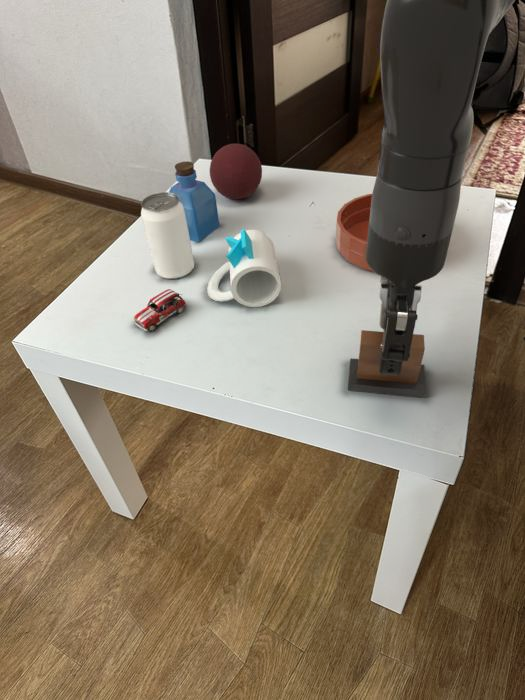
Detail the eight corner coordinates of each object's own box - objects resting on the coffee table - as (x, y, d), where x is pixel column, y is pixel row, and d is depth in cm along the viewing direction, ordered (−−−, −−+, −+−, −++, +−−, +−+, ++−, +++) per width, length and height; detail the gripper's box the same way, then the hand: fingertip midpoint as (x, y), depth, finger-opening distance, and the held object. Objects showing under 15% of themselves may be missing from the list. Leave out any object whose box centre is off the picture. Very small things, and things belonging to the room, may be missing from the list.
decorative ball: (265, 184, 101) (262, 134, 94) (261, 208, 94) (257, 156, 87) (217, 185, 102) (210, 135, 95) (209, 209, 95) (201, 158, 88)
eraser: (422, 371, 62) (432, 329, 57) (424, 398, 59) (434, 356, 54) (349, 364, 63) (353, 323, 58) (347, 390, 60) (350, 349, 55)
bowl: (439, 220, 87) (444, 193, 83) (446, 278, 75) (452, 250, 71) (340, 216, 90) (341, 190, 86) (331, 272, 78) (332, 245, 74)
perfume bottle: (198, 242, 86) (186, 176, 78) (171, 234, 89) (157, 169, 81) (219, 226, 90) (210, 161, 82) (193, 218, 93) (181, 154, 84)
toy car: (133, 325, 72) (127, 308, 69) (176, 298, 75) (172, 281, 73) (148, 336, 70) (142, 319, 67) (191, 308, 74) (187, 291, 71)
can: (203, 266, 81) (190, 198, 73) (172, 285, 78) (156, 216, 70) (177, 253, 85) (163, 186, 76) (147, 270, 81) (129, 203, 73)
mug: (253, 203, 74) (260, 247, 66) (280, 249, 80) (289, 294, 72) (187, 238, 77) (185, 284, 69) (217, 279, 83) (219, 326, 75)
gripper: (461, 266, 40) (426, 396, 51) (448, 184, 50) (421, 308, 61) (366, 261, 41) (352, 389, 53) (372, 182, 51) (359, 304, 62)
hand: (389, 345), depth 57 cm, fingers open, 8 cm apart
